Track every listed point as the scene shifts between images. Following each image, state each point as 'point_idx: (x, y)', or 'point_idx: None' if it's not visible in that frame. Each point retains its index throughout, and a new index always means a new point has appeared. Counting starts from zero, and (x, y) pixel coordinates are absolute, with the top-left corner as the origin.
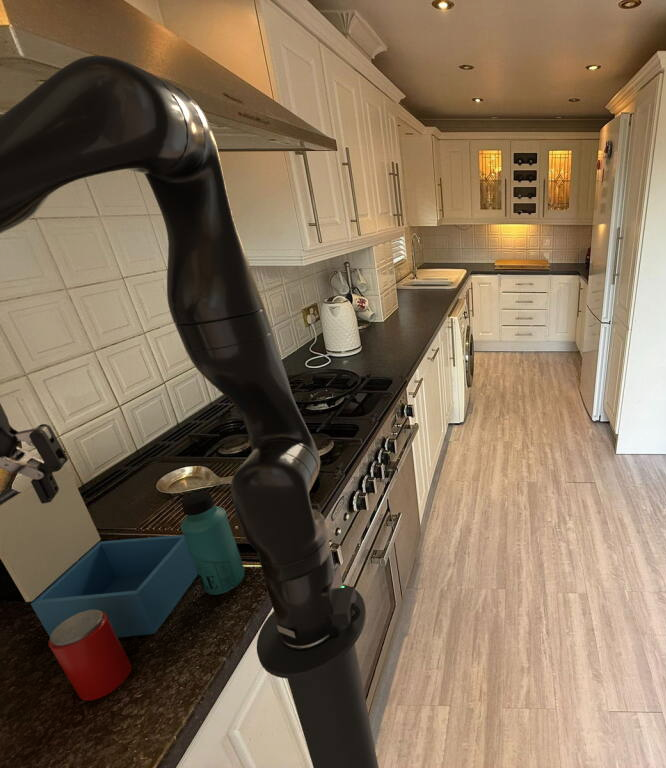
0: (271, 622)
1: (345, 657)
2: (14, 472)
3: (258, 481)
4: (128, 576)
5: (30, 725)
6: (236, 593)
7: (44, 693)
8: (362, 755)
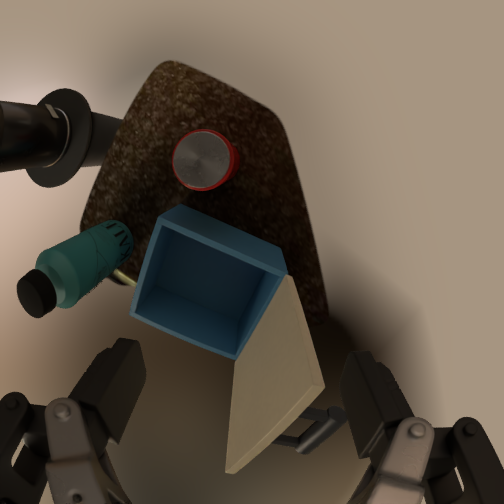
0: (77, 154)
1: None
2: (89, 456)
3: None
4: (225, 316)
5: (273, 142)
6: None
7: (272, 178)
8: None
